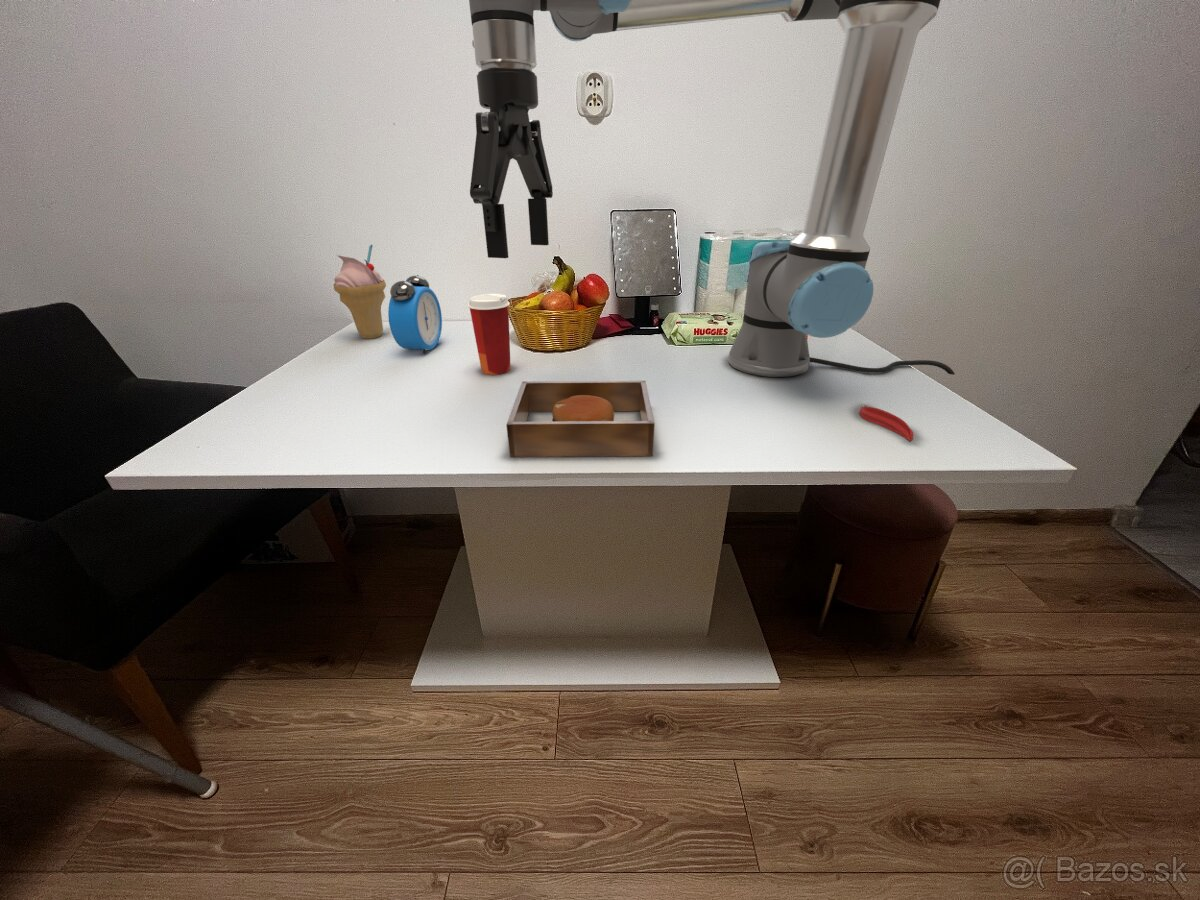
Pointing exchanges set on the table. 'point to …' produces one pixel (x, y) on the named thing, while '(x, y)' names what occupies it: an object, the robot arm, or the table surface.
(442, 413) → the table surface
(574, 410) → the burger
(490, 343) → the paper cup
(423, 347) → the alarm clock
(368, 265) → the ice cream cone
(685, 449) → the table surface
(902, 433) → the cayenne pepper
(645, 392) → the wooden box
